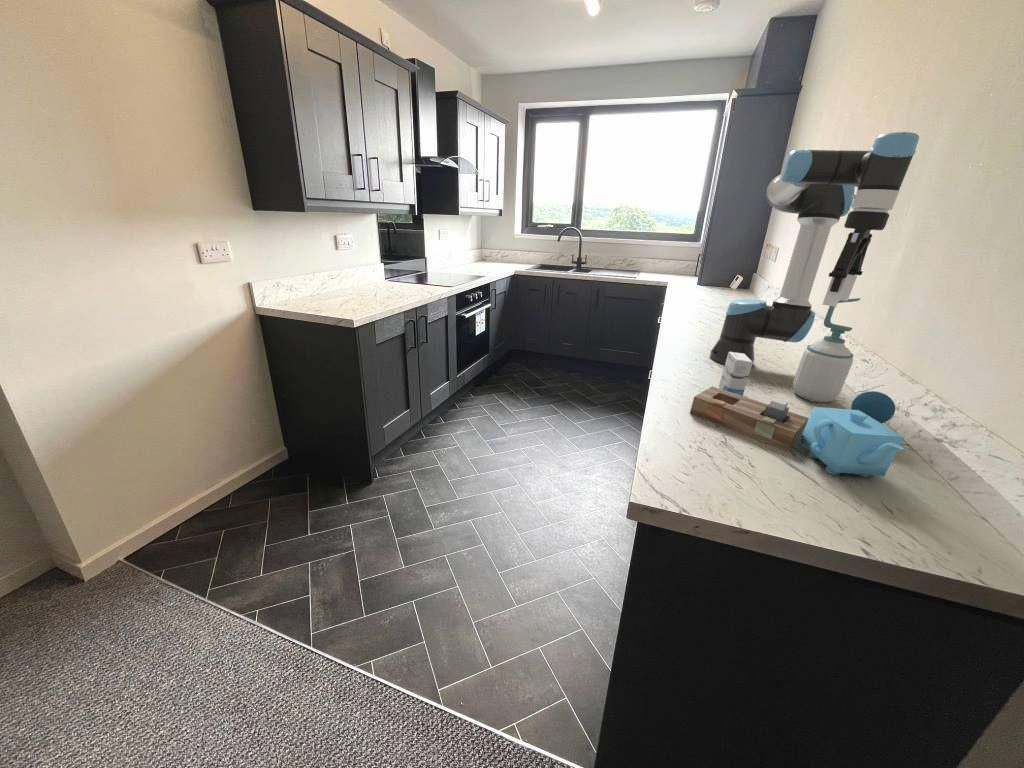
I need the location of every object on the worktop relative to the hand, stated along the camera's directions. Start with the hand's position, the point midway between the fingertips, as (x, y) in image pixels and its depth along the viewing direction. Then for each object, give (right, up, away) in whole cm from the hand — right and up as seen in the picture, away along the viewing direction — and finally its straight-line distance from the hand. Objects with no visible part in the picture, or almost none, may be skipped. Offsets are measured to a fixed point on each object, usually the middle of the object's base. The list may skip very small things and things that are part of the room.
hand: (835, 302), depth 103 cm
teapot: (-8, -40, -13) cm, 42 cm away
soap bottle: (+13, -25, +26) cm, 38 cm away
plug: (-16, -32, +1) cm, 36 cm away
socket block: (-20, -31, +5) cm, 37 cm away
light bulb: (+10, -34, +4) cm, 35 cm away
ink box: (-13, -23, +26) cm, 37 cm away
